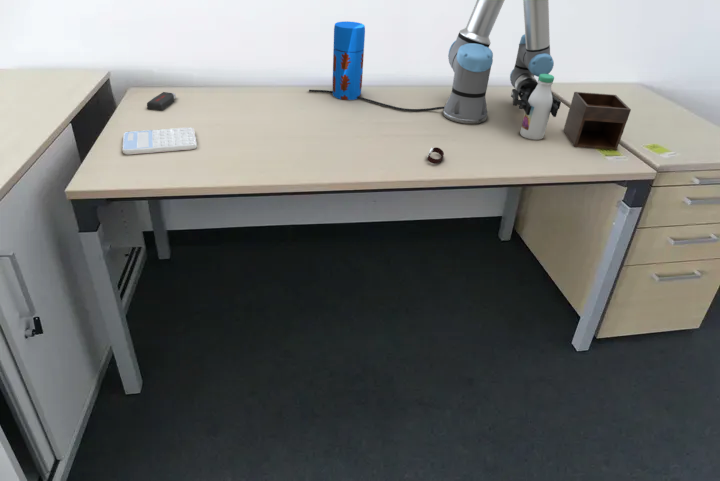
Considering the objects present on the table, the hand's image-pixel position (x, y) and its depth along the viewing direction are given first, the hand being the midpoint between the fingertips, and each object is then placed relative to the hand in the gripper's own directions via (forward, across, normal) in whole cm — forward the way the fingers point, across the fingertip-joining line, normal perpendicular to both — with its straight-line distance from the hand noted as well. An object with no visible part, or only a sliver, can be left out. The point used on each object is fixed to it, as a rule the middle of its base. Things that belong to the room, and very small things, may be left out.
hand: (542, 111), depth 167 cm
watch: (+20, +34, -10) cm, 40 cm away
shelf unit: (-5, -19, -10) cm, 22 cm away
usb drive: (-8, +125, -10) cm, 125 cm away
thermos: (-31, +64, -10) cm, 72 cm away
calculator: (+23, +114, -10) cm, 117 cm away
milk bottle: (-5, 0, -10) cm, 11 cm away
